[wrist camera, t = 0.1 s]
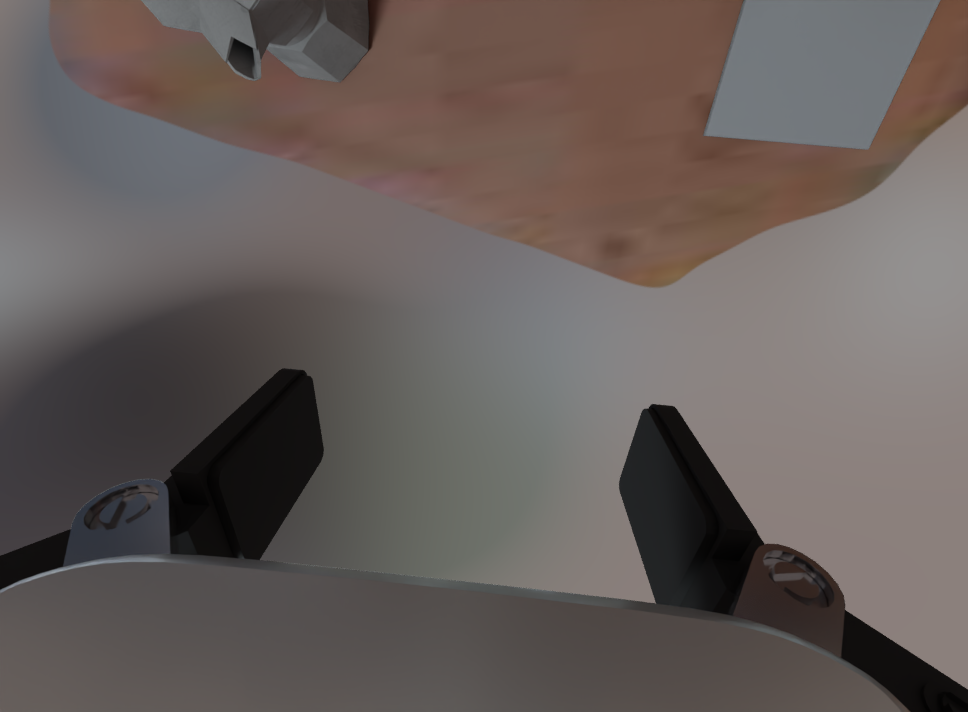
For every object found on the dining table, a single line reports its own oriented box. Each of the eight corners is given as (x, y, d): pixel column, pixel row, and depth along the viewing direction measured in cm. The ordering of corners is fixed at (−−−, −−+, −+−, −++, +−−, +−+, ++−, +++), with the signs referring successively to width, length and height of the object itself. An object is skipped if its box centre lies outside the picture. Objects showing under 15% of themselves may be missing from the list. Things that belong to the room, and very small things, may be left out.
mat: (797, -179, 25) (801, -183, 25) (1013, -164, 25) (1021, -168, 25) (703, 135, 34) (705, 135, 33) (864, 149, 33) (868, 149, 33)
